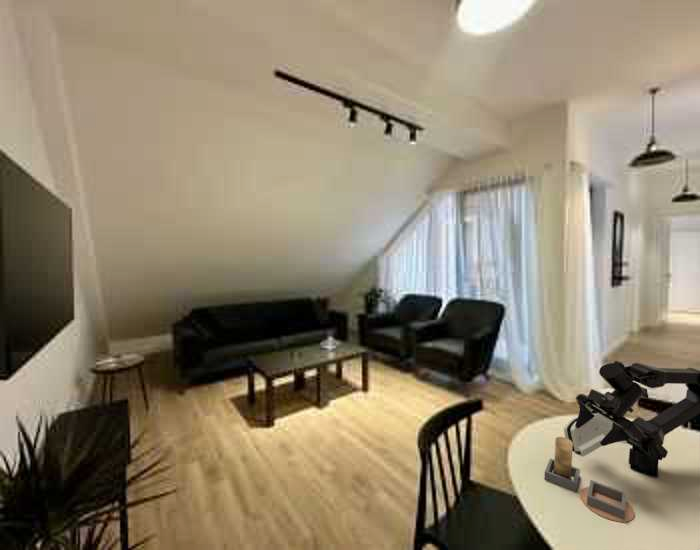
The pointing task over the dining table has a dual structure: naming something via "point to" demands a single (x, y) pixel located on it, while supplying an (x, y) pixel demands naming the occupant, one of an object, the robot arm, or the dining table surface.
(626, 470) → the dining table surface
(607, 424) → the skincare box
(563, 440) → the rod
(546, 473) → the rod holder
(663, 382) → the robot arm
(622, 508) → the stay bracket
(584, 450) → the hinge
